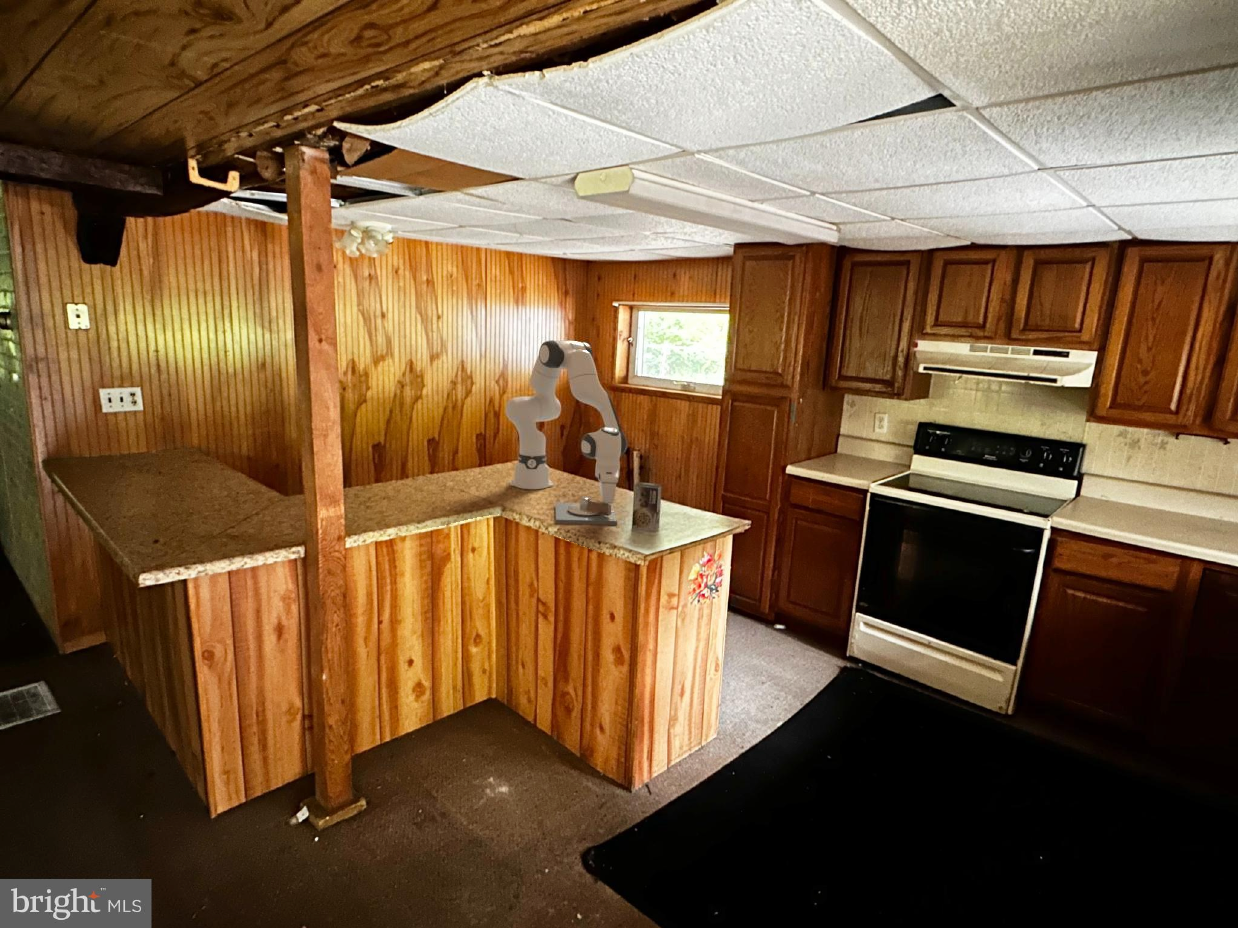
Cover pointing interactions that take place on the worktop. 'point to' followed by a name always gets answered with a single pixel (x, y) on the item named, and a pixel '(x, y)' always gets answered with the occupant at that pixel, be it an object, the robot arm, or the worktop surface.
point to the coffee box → (646, 506)
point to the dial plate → (570, 518)
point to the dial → (590, 507)
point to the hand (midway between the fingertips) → (604, 507)
